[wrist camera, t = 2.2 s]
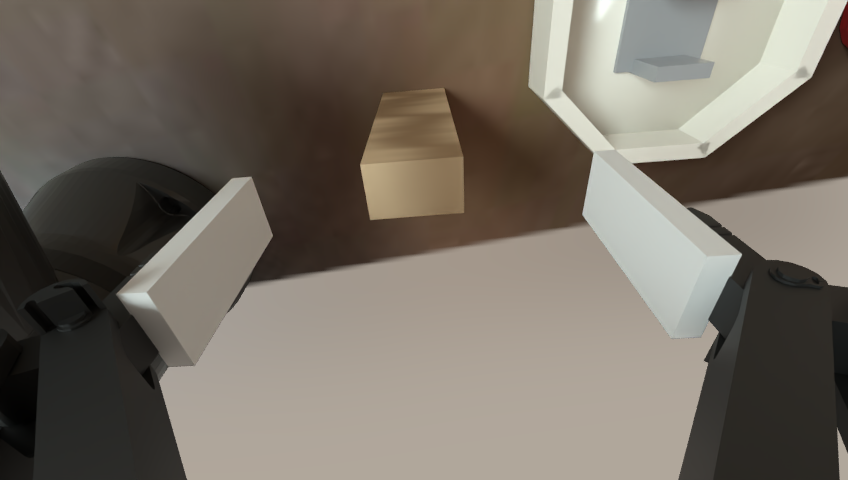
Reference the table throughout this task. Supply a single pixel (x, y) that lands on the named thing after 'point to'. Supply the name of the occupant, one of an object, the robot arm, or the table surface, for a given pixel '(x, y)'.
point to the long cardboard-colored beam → (413, 157)
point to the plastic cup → (844, 26)
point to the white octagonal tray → (672, 68)
